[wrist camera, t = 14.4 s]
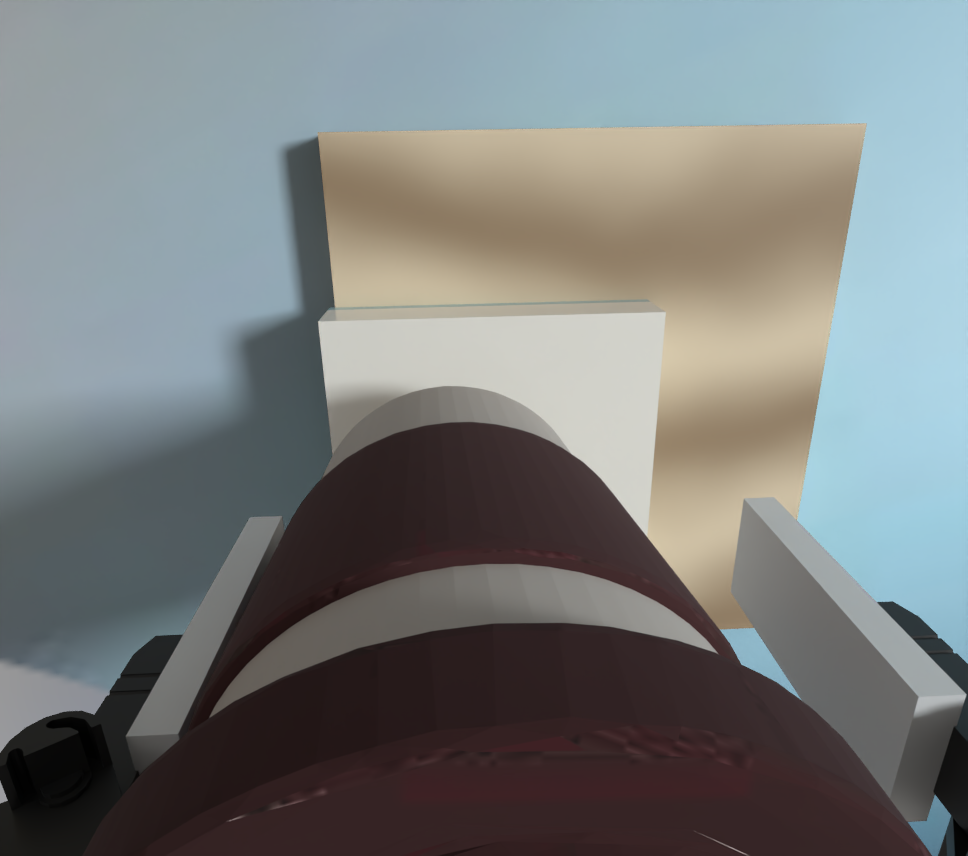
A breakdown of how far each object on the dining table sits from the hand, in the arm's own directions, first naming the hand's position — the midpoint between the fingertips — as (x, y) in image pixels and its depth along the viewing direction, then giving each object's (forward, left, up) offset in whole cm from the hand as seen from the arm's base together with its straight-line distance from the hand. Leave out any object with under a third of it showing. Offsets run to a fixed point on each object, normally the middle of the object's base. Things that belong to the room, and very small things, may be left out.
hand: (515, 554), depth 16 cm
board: (-1, +3, -8) cm, 9 cm away
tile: (0, +5, -6) cm, 7 cm away
